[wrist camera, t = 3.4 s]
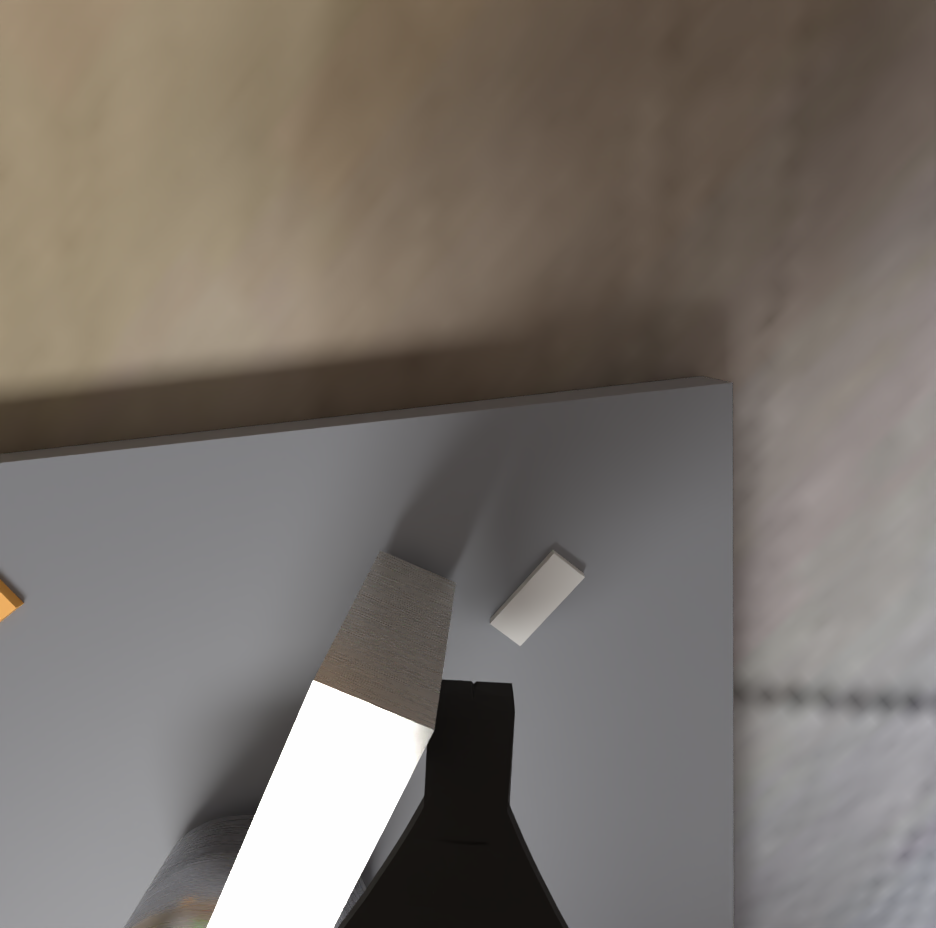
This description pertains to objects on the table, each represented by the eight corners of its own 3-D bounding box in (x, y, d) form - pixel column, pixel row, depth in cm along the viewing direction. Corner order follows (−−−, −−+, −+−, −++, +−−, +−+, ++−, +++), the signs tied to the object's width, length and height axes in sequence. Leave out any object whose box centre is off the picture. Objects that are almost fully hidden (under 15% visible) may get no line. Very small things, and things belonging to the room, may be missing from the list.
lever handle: (326, 1004, 14) (257, 1284, 10) (137, 933, 13) (-15, 1192, 9) (534, 614, 11) (558, 781, 7) (300, 513, 10) (181, 625, 6)
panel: (712, 1101, 16) (737, 1187, 15) (36, 1112, 18) (-9, 1191, 16) (702, 375, 11) (737, 383, 10) (-241, 480, 13) (-350, 502, 11)
